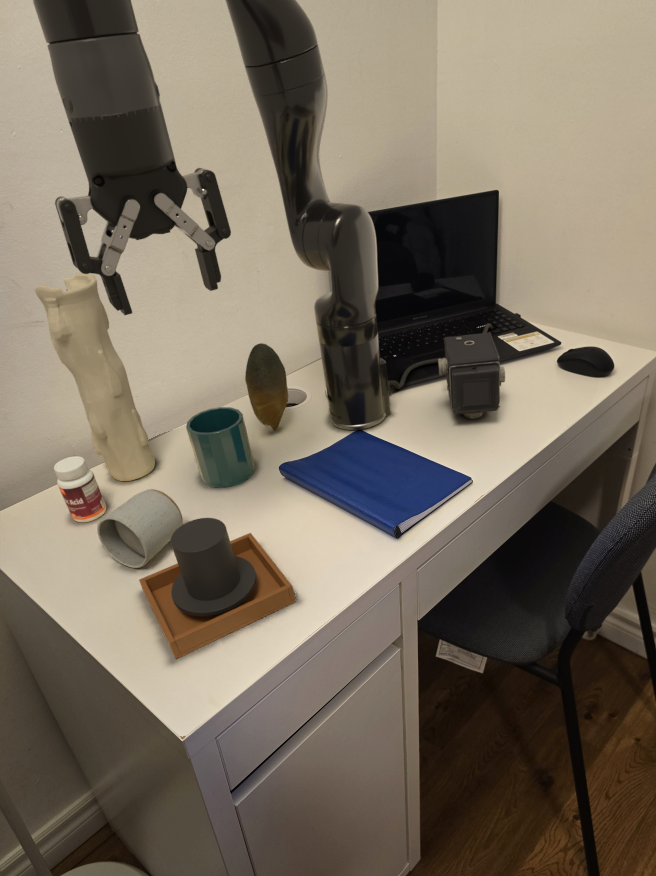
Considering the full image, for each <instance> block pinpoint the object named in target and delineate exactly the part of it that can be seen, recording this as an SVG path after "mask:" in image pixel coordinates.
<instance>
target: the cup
mask: <svg viewBox="0 0 656 876" xmlns="http://www.w3.org/2000/svg"><path fill="white" fill-rule="evenodd" d="M185 428H186V432H187V435H188V438H189V442H190V445H191V449H192V453H193V455H194V456H193V457H194V459H195V462H196V465H197V469H198V472H199V476H200V478H201V481H202V482H203V484H204V485H206V486H207V487H211V488H216V489H218V488H219V489H223V488H229V487H234V486H238V485H240V484H242V483H243V482H246V481H248V480H249V479H250V478H251V477H252V476H253V475H254V473H255V471H256V466H255V460H254V455H253V452H252V447H251V444H250V440H249V439H250V438H249V435H248V431H247V427H246V421H245V418H244V414H243V412H242V411H241V410H240V409H238V408H234V407H230V406H227V407H226V406H220V407H219V406H218V407H214V408H208V409H206V410H203V411H200V412H198V413H196V414H194V415H193V416H191V417H190V418H189V419H188V421H187V422H186V426H185Z"/></svg>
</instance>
